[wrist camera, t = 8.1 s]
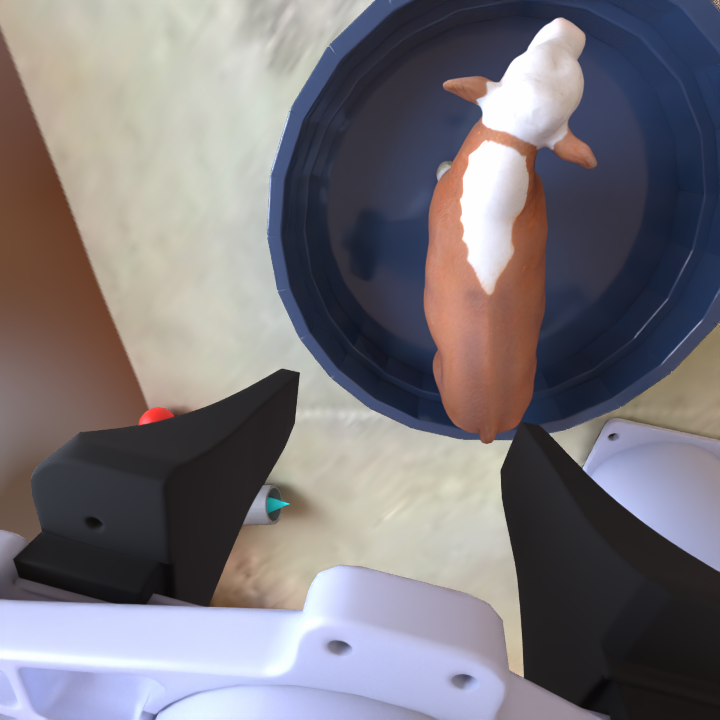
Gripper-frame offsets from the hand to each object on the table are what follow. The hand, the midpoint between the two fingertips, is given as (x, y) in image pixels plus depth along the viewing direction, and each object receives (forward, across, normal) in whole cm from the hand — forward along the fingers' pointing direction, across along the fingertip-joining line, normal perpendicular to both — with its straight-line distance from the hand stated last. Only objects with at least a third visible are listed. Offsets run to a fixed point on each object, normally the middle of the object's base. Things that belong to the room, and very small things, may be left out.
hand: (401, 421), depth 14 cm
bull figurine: (+9, -2, -5) cm, 10 cm away
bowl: (+9, -2, -5) cm, 11 cm away
